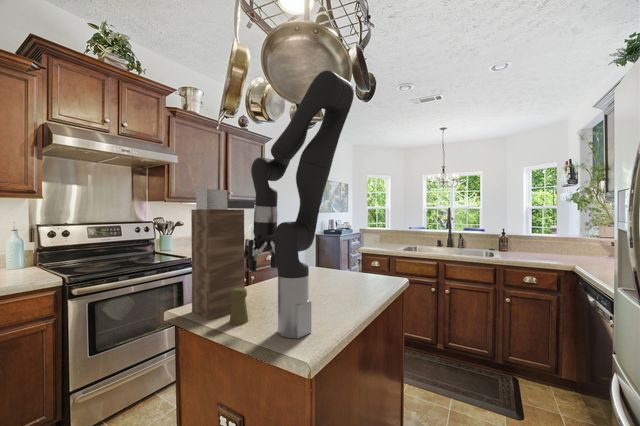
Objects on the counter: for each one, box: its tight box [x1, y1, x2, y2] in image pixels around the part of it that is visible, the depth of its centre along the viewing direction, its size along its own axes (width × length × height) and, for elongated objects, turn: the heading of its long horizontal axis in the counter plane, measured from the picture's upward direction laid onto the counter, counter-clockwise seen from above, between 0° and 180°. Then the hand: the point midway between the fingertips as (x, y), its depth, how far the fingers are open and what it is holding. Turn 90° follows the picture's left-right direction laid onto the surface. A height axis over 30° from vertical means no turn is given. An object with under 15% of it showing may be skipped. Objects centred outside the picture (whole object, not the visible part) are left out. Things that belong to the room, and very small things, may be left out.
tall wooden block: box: [190, 209, 245, 320], centre depth 108 cm, size 12×14×37 cm
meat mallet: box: [195, 188, 255, 210], centre depth 111 cm, size 7×22×7 cm, turn 141°
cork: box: [229, 287, 249, 326], centre depth 97 cm, size 6×6×11 cm
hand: (263, 269), depth 97 cm, fingers open, 8 cm apart
